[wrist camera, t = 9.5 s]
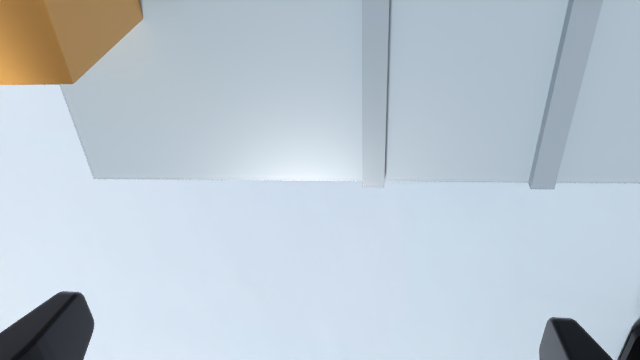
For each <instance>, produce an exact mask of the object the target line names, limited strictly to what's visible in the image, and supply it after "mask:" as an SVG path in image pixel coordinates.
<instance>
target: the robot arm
mask: <svg viewBox="0 0 640 360" xmlns="http://www.w3.org/2000/svg"><path fill="white" fill-rule="evenodd" d="M93 329H94V319H93V317H92V314H91V312H90V309H89V307H88V304H87V302H86V300H85V297H84V296H83V295H82V294H81V293H79V292H66V291H63V292H59V293H57V294H56V295H54V296H53V297H51V298H50V299H49V300H47V301H46V302H44V303H43V304H41V305H40V306H38V307H37V308H36V309H34V310H33V311H31V312H30V313H28V314H27V315H25V316H24V317H23V318H21V319H20V320H18V321H17V322H15V323H14V324H12V325H11V326H10V327H8V328H7V329H5V330H4V331H2V332H1V333H0V360H83V359H84V356H85V353H86V351H87V348H88V345H89V342H90V339H91V336H92V333H93ZM539 357H540V360H613V359H612V358H611V357H610V356H609V355H608V354H607V353H606V352H605V351H604V350H603V349H602V348H601V347H600V346H599V345H598V344H597V342H596V341H595V340H594V339H593V338H592V337H591V336H590V335H589V334H588V333H587V332H586V331H585V330H584V329H583V328H582V327H581V326H580V325H579V324H578V323H577V322H576V321H575V320H573V319H571V318H556V317H552V318H550V319H549V320H548V321H547V324H546V327H545V330H544V334H543V337H542V341H541V344H540V349H539ZM620 360H640V328H637V329H635V330H634V331H633V332H632V334H631V336H630V338H629V341H628V343H627V345H626V347H625V349H624V351H623V354H622V356H621V358H620Z"/></svg>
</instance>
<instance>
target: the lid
mask: <svg viewBox="0 0 640 360" xmlns="http://www.w3.org/2000/svg"><path fill="white" fill-rule="evenodd" d="M35 84H59V85H60V87H61V90H62V93H63V96H64V98H65V101H66V104H67V107H68V109H69V112H70V115H71V118H72V120H73V123H74V126H75V129H76V131H77V134H78V137H79V140H80V142H81V145H82V148H83V151H84V153H85V156H86V159H87V162H88V164H89V167H90V170H91V172H92V175H93V178H94V179H167V180H285V181H362V187H364V188H384V181H403V182H520V183H529V186H530V188H531V189H554V188H555V184H556V183H638V184H640V0H0V85H35Z"/></svg>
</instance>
